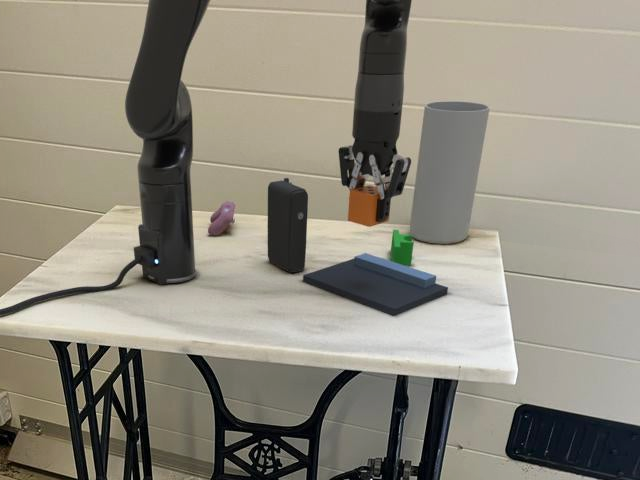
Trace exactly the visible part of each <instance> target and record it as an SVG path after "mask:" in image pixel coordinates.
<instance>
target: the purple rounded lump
mask: <svg viewBox="0 0 640 480" xmlns="http://www.w3.org/2000/svg"><path fill="white" fill-rule="evenodd" d="M235 208H236V204H235V203H234V202H233V201H228V200H226V201H223V202H222V203H221V205H220V207H219V208H218V209H217V210H215V211H214V212H213V213H212V214H211V216H210V217H209V220H210V223H211V224H209V226H208V228H207V234H209V235H210V236H216V235H220V234H221V233H222V232H223V233H226V231H227V230H228V228H229V226H231V224H232V225H233V224H235V222H236V219H235V218H234V216H235Z"/></svg>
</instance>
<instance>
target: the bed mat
mask: <svg viewBox="0 0 640 480" xmlns="http://www.w3.org/2000/svg"><path fill="white" fill-rule="evenodd" d="M436 281H437V275H435V274H432V273H429V272H426V271H424V270H420V269H416V268H414V267H411V266H404V265H401V264H398V263H395V262H392V261H391V260H388V259H385V258H382V257H380V256H376V255H373V254H370V253H366V252H364V253H361V254H358V255H355V256H354V258H351V259H349V260H345V261H342V262H339V263H336V264H333V265H330V266H326V267H324V268H320V269H318V270H315V271H312V272H309V273H306V274H303V275H302V282H304V283H306V284H309V285H312V286H315V287H317V288H320V289H322V290H325V291H327V292H330V293H333V294H335V295H338V296H341V297H344V298H346V299H349V300H350V301H351V300H352V301H354V302H357V303H360V304H362V305H364V306H368V307H370V308H373V309H376V310H378V311H381V312H383V313H386V314H389V315H391V316H396V315H399V314H401V313H404V312H407V311H409V310H411V309H414V308H416V307H418V306H421V305H423V304H425V303H429V302H430V301H433V300H435V299H437V298H441V297H443V296H446V295H448V290H449V287H448V286H445V285H443V284H439V283H437V282H436Z"/></svg>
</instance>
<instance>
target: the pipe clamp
mask: <svg viewBox="0 0 640 480" xmlns="http://www.w3.org/2000/svg"><path fill="white" fill-rule="evenodd" d="M413 250H414V241H413V237H412V235H410V234H408V233H407V234H405V233H404V234H403V233H400V230H399V229H392V236H391V246H390V261H392V262H395V263H398V264H401V265H404V266H408V267H411V266H412V259H413Z"/></svg>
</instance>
